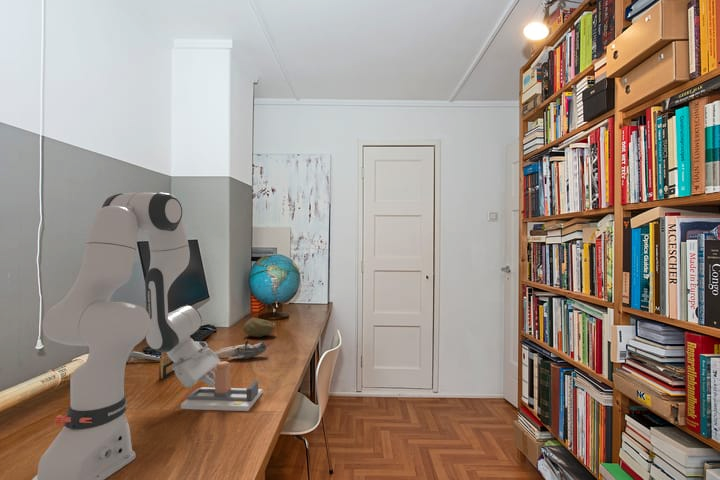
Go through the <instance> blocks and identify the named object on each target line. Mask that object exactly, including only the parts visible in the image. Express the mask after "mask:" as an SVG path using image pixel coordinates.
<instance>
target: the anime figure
mask: <svg viewBox="0 0 720 480" xmlns="http://www.w3.org/2000/svg"><path fill="white" fill-rule="evenodd" d="M266 350H267V346H266V344H265V341H261V342H259V343H255V344H253V345H252V344H251V343H250V341H249V340H247V341H245V343H244V344H241V343H240V345H234V346H227V347H223V348H220V349H219V350H216V351H213V352H214V353H215V354H216V355H217V356H218V357H219V356H229V357H228V358H226V360H227V361H231V360H233V359H237V360H246V359H247V360H248V359H250V358H253V357H256V356H258V355H261V354H263V353H265V352H266Z"/></svg>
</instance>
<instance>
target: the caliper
mask: <svg viewBox="0 0 720 480" xmlns="http://www.w3.org/2000/svg"><path fill="white" fill-rule="evenodd" d="M151 355H152V354H145V352H140V351H134V348H133V349H132V351H131V353H130V354H129V356H128V359H127V361H126V363H130V364H131V363H133V361H134V360H135V359H137V360H143V359H146V360H153V361H157V362H160V359H161V358H160V357H161V356H158V357H156V356H157V355H152V356H151Z"/></svg>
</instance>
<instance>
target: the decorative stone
mask: <svg viewBox="0 0 720 480" xmlns="http://www.w3.org/2000/svg"><path fill="white" fill-rule="evenodd" d="M242 329H243V332H244V333H245V334H246V335H248V336H250V337H253V338H262V337H265V336H269V335H271V334H272V332H273V331H274V330H275V326H274V323H273V322H271V321H270V320H266V319H262V318H258V317H251V318H249V319H248V320H246V322H245V323H244V324H243V327H242Z"/></svg>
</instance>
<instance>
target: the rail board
mask: <svg viewBox="0 0 720 480" xmlns="http://www.w3.org/2000/svg"><path fill="white" fill-rule="evenodd" d="M230 388H231V394H230V395H229V396H228V397H221V396H214V393H215V387H200V388H196V389H194V390H193V391H192V392H191V393H190V394H188V395H187V396H186V400H184V401H183V402H182V403H180V410H202V411H203V410H205V411H231V412H232V411H237V412H239V411H240V412H241V411H242V412H249V411H250V410H251V408H252V407H253V406H254V404H255V403H256V401H258V400H259V398H260V397H261V395H262V394H263V388H259V381H256V380H255V381H252V383H250V385H249V386H248V387H246V388H245V387H243V388H240V387H239V388H238V387H237V388H236V387H230Z"/></svg>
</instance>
